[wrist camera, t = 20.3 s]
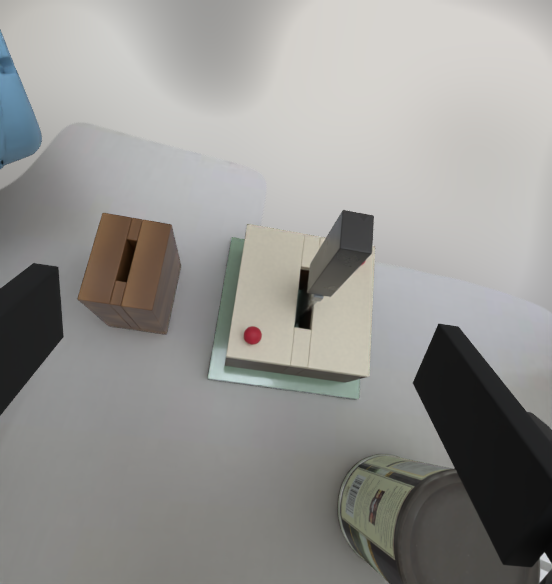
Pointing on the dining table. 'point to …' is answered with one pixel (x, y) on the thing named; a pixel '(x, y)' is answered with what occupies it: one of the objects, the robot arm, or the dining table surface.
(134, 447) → the dining table surface
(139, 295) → the knife block
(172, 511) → the dining table surface
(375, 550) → the coffee can
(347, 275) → the knife
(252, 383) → the cake platter
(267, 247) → the cake
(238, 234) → the dining table surface
